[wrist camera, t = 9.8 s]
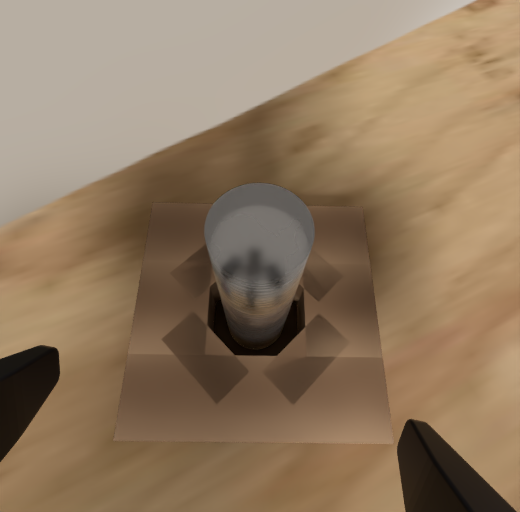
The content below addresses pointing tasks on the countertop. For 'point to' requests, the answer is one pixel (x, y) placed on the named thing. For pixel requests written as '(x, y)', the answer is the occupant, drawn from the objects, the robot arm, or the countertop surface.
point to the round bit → (258, 258)
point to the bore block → (254, 367)
